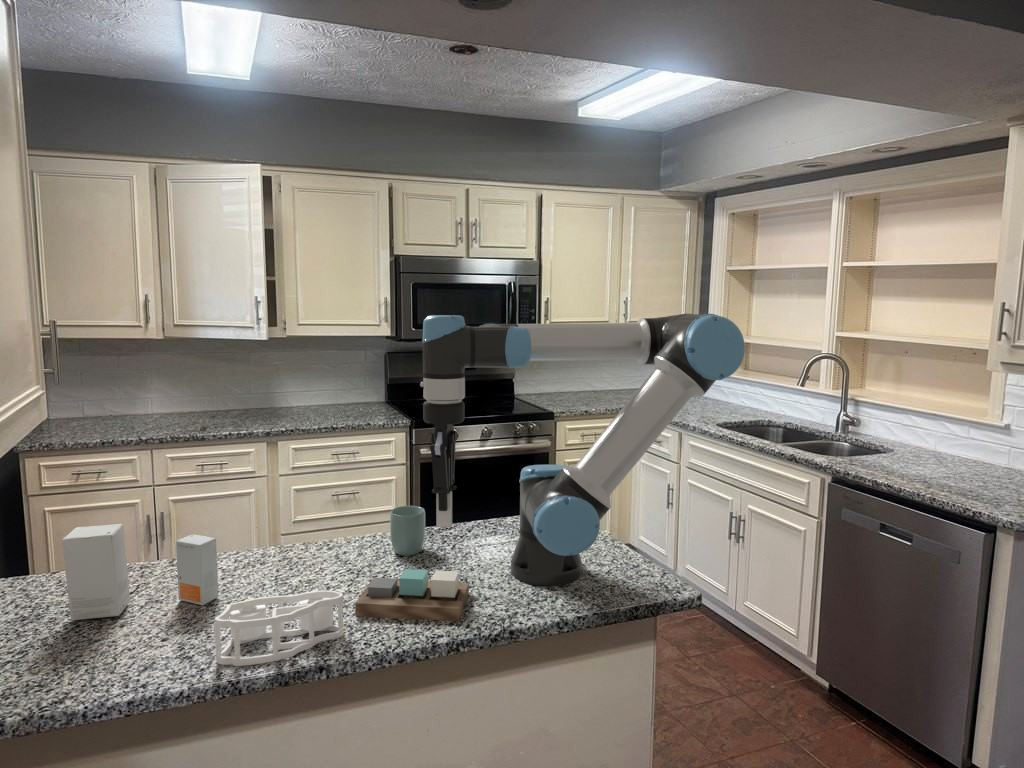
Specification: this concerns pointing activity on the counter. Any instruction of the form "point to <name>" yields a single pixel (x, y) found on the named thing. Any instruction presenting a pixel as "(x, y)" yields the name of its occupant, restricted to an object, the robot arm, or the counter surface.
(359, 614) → the keypad
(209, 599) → the skincare box
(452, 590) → the key
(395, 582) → the key
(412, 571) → the key
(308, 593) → the car outline toy
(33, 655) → the counter surface
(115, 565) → the skincare box
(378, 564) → the counter surface
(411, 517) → the cup
